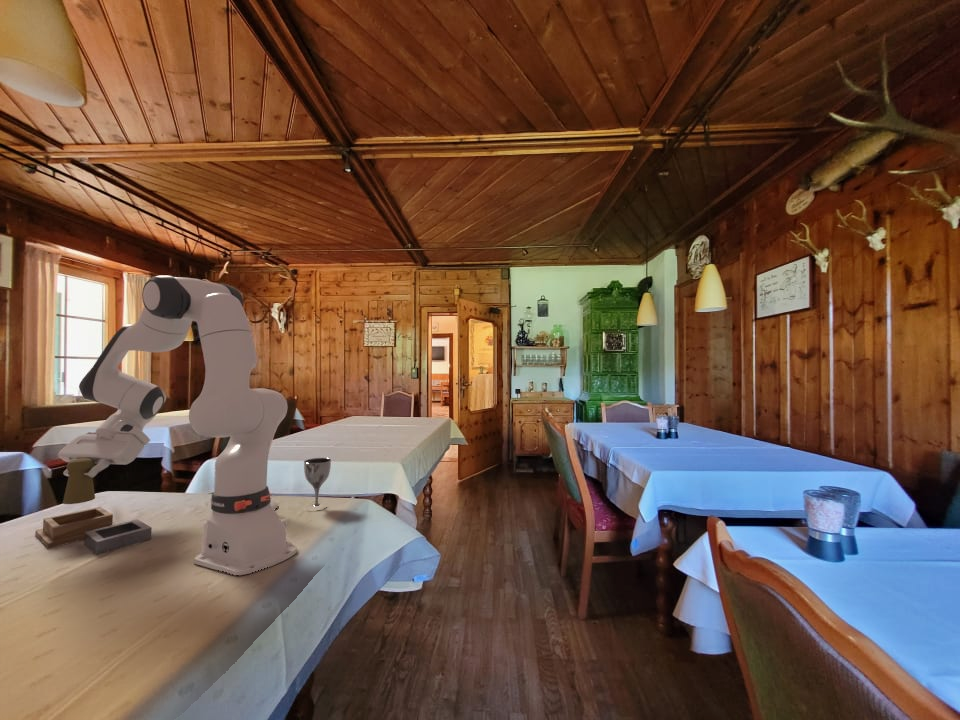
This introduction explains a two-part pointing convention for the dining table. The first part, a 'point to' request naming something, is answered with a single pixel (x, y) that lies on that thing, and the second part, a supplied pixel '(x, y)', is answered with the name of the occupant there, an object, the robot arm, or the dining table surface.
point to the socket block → (117, 536)
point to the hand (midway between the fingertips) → (77, 475)
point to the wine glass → (317, 473)
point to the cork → (79, 482)
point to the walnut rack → (72, 526)
